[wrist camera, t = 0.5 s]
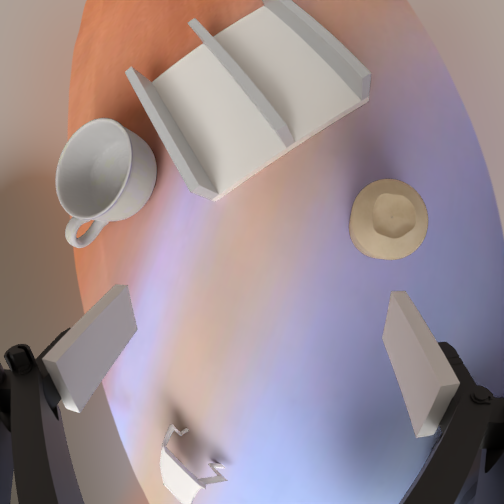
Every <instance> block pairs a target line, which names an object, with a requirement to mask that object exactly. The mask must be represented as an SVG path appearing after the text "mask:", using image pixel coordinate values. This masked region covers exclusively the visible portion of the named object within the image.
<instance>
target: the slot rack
mask: <svg viewBox="0 0 504 504" xmlns="http://www.w3.org/2000/svg"><path fill="white" fill-rule="evenodd" d="M262 1H263V4H264V6H263V7H261V8H259V9H257V10H256V11H254V12H252V13H250V14H249V15H247V16H245V17H243V18H242V19H240V20H238V21H237V22H235V23H234V24H232V25H230V26H229V27H227V28H226V29H224V30H222V31H221V32H219V33H218V34H216V35H215V36H213V37H212V35H211V34H210V33H209V32H208V31H207V30H206V29H205V28H204V27H203V26H202V25H201V24H200V23H199V22H198V21H197V20H196V19H195V18H194V19H192V20H191V21H190V22H188V24H189V25H190V27H191V28H192V29H193V30H194V32H195V33H196V34H197V36H198V37H199V38H200V39H201V41H202V42H203V44H202V45H200V46H199V47H197V48H196V49H194V50H193V51H192V52H190V53H189V54H187V55H186V56H185V57H183V58H182V59H181V60H179V61H178V62H177V63H175V64H174V65H173V66H171V67H170V68H169V69H168V70H166V71H165V72H164V73H163V74H161V75H160V76H159V77H158V78H156V79H155V80H154V81H153V82H151V81H149V80H148V79H147V78H146V77H144V76H143V75H142V74H141V73H139V72H138V71H137V70H135V69H134V68H133V67H130V68H129V69H128V70H127V71H126V72H125V73H126V75H127V77H128V79H129V81H130V83H131V85H132V87H133V88H134V90H135V92H136V94H137V96H138V98H139V100H140V101H141V103H142V105H143V107H144V109H145V111H146V113H147V114H148V116H149V118H150V120H151V122H152V124H153V126H154V127H155V129H156V131H157V133H158V135H159V136H160V138H161V140H162V142H163V144H164V146H165V147H166V149H167V151H168V153H169V155H170V156H171V158H172V160H173V162H174V164H175V165H176V167H177V169H178V171H179V173H180V174H181V176H182V178H183V180H184V182H185V183H186V185H187V187H188V189H189V191H190V192H191V193H194V194H196V195H199V196H202V197H204V198H207V199H209V200H212V201H214V202H216V201H218V200H219V199H220V198H222V197H223V196H225V195H226V194H228V193H229V192H230V191H232V190H233V189H235V188H236V187H237V186H239V185H240V184H242V183H243V182H245V181H246V180H248V179H249V178H250V177H252V176H253V175H255V174H256V173H258V172H259V171H261V170H262V169H264V168H265V167H266V166H268V165H269V164H271V163H272V162H274V161H275V160H277V159H278V158H280V157H281V156H283V155H284V154H286V153H287V152H289V151H290V150H292V149H293V148H295V147H297V146H298V145H300V144H301V143H303V142H304V141H306V140H307V139H309V138H310V137H312V136H314V135H315V134H317V133H318V132H320V131H321V130H323V129H325V128H326V127H328V126H329V125H331V124H333V123H334V122H336V121H337V120H339V119H341V118H342V117H344V116H345V115H347V114H349V113H350V112H352V111H354V110H355V109H357V108H359V107H360V106H362V105H364V104H365V103H367V102H369V93H370V82H371V72H370V71H369V70H368V69H367V68H366V67H365V66H364V65H363V64H362V63H361V62H360V61H359V60H358V59H357V58H356V57H355V56H354V55H353V54H352V53H351V52H350V51H349V50H348V49H347V48H346V47H345V46H344V45H343V44H342V43H341V42H340V41H338V40H337V39H336V38H335V37H334V36H333V35H332V34H331V33H330V32H329V31H328V30H326V29H325V28H324V27H323V26H322V25H321V24H320V23H318V22H317V21H316V20H315V19H314V18H313V17H311V16H310V15H309V14H308V13H307V12H305V11H304V10H303V9H302V8H300V7H299V6H298V5H297V4H295V3H294V2H293V1H291V0H262Z"/></svg>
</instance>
